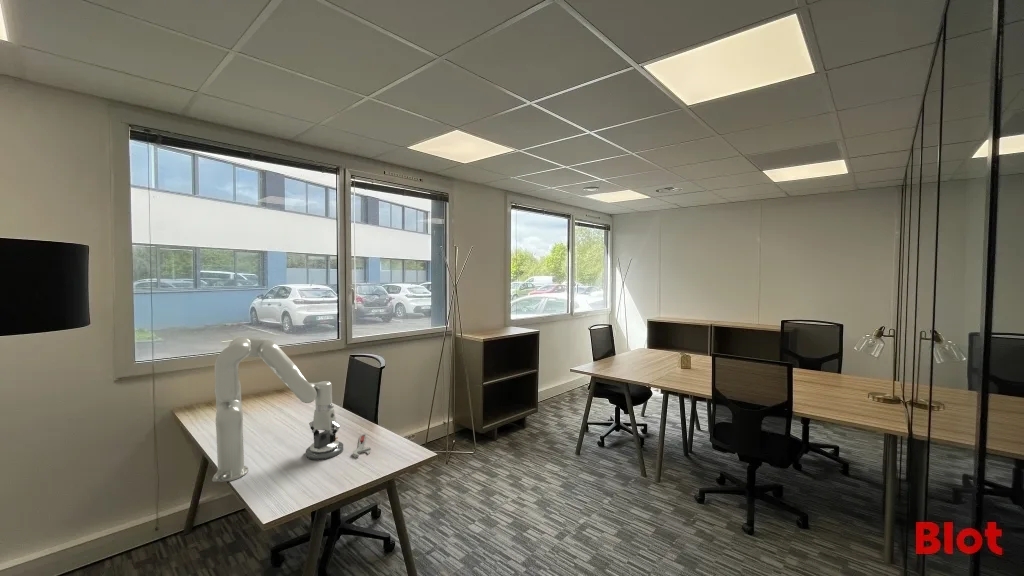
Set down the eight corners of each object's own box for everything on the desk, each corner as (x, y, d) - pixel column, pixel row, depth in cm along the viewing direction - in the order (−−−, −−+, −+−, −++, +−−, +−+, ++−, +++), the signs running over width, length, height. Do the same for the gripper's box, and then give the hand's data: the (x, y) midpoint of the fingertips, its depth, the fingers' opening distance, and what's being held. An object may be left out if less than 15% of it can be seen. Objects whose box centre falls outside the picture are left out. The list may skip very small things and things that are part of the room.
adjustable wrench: (376, 436, 218) (376, 432, 218) (368, 457, 192) (368, 453, 192) (360, 437, 216) (360, 433, 216) (350, 459, 191) (350, 455, 191)
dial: (323, 455, 189) (323, 439, 188) (304, 450, 194) (303, 435, 193) (347, 442, 202) (346, 428, 202) (327, 438, 207) (327, 424, 207)
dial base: (336, 459, 190) (336, 454, 190) (299, 461, 188) (299, 456, 188) (347, 443, 207) (347, 439, 207) (314, 445, 205) (313, 440, 205)
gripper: (343, 405, 198) (344, 439, 199) (314, 402, 202) (315, 435, 203) (333, 411, 190) (334, 446, 191) (303, 407, 195) (304, 441, 196)
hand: (324, 440), depth 197 cm, fingers open, 9 cm apart
